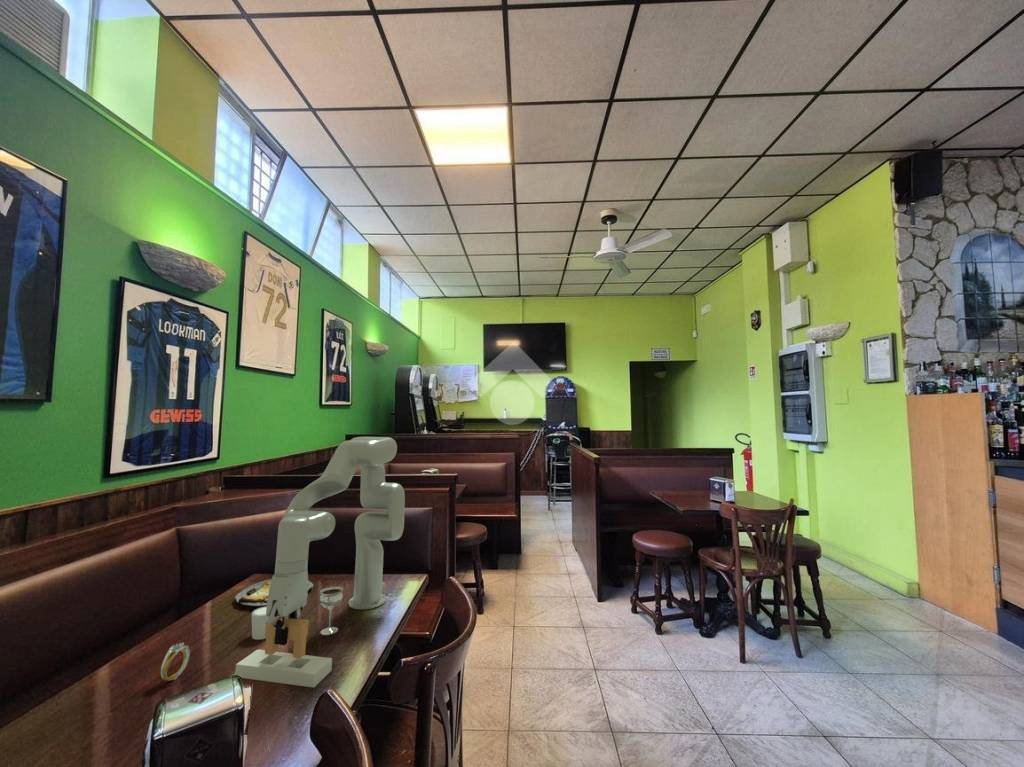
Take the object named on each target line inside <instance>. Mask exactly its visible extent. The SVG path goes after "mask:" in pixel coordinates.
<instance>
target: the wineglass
mask: <svg viewBox="0 0 1024 767" xmlns="http://www.w3.org/2000/svg"><path fill="white" fill-rule="evenodd" d="M343 591H344V587H342V586H341V585H340V586H339V585H334V586H332V585H331V586H326V587H324V588H322V589H320V591H319V592H320V596H319V597H318V598H319V603H320V605H321V606H322V607H323V608H325V609H327V610H328V627H325V628H323V629H322V630H321V631H320V634H321V635H323V636H329V635H333V634H335V633H337V632H338V631H339V628H338V627H336V626H331V625H332V623H331V622H332V614H333V613H332V612H333V609H334V608H335V607H337V606H339V605H340V603H341V602H342V600H343V597H344V592H343Z"/></svg>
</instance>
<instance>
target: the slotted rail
mask: <svg viewBox="0 0 1024 767" xmlns="http://www.w3.org/2000/svg"><path fill="white" fill-rule="evenodd" d="M332 669H333V658H332V657H323V656H316V655H307V654H305V655H303V656H302V657H301V658H293V653H291V652H283V651H277V652H275V653H274V654H272V655H268V654H265V649H256V650H254V651H253V652H252V653H251V654H249V655H247V656H246V657H244V658H243V659H242V660H240V661H239V662H237V663H236V664H235V674H234V676H235V675H238V676H240V677H241V678H240V679H248V680H256V681H261V682H262V681H263V682H270V683H276V684H283V685H284V684H286V685H292V686H300V687H307V688H316V686H317V685H318V684H319V683H321V682H322V681H323V680H324V679H325V677H326V676H328V674H329V673H331V672H332Z"/></svg>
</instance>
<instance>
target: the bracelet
mask: <svg viewBox="0 0 1024 767" xmlns="http://www.w3.org/2000/svg"><path fill="white" fill-rule="evenodd" d="M179 652H181V653H182V655H183V660H182V663H181V666H180V668H179V669H178V670H177V672H175V673H173V674H172V675H170V676H168V669H169V668H170V665H171V663H172V662H173V660H174V659H175V658H176V656H177V655H178V654H179ZM172 653H173V654H172ZM171 654H172V655H171ZM170 655H171V656H170ZM190 655H191V651H190V647H189V645H185V642H179V644H178V643H176V644H172V645H171V647H170V648H168V651H167V652H166V654H165V655H164V659H163V661H162V663H161V667H160V677H161V678H162V680H165V681H168V682H170V681H174V680H176V679H178V678H179V676H180V675H181V674H182V673H183V671H185V669H186V667H187V666H188V663H189V661H190V658H191V657H190Z"/></svg>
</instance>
